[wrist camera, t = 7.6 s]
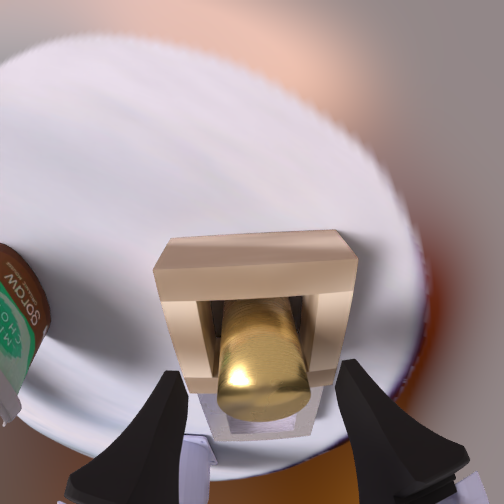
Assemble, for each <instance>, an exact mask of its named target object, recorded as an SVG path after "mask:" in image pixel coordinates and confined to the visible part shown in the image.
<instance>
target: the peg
mask: <svg viewBox="0 0 504 504" xmlns="http://www.w3.org/2000/svg"><path fill="white" fill-rule="evenodd" d="M310 397H311V390H310V386H309V381H308V377H307V373H306V368H305V364H304V360H303V355H302V351H301V347H300V343H299V339H298V334H297V330H296V326H295V322H294V318H293V314H292V310H291V306H290V302H289V298H288V296H287V297H272V298H255V299H235V300H224V308H223V320H222V333H221V346H220V359H219V373H218V388H217V403H218V406H219V407H220V409H221V410H222V411H223V412H225V413H226V414H227V415H229V416H231V417H233V418H236V419H239V420H243V421H249V422H269V421H276V420H280V419H283V418H287V417H289V416H291V415H293V414H295V413H297V412H299V411H300V410H301V409H303V408H304V407H305V406H306V405H307V403H308V402H309V400H310Z"/></svg>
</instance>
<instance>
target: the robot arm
mask: <svg viewBox="0 0 504 504" xmlns="http://www.w3.org/2000/svg"><path fill="white" fill-rule="evenodd" d="M335 391H336V396H337V401H338V406H339V409H340V412H341V415H342V418H343V421H344V424H345V427H346V430H347V433H348V437H349V440H350V443H351V446H352V450H353V455H354V460H355V466H356V472H357V479H358V489H359V502H360V504H489V501H488V498H487V495H486V492H485V489H484V487H483V484H482V481H481V479H480V477H479V474H478V471H475V472H474V473H472V474H471V475H469V476H467V477H466V478H464V479H463V480H461V481H460V482H458V483H456V484H454V481H453V480H455V479H456V476H455V474H454V473H456V472H457V471H459V470H460V469H461V468H463V467H464V466H465V465H466V464H468V463H469V461H470V458H469V456H468V454H467V451H466V449H465V448H464V446H462V445H460V444H458V443H455V442H453V441H450V440H448V439H446V438H444V437H442V436H440V435H438V434H436V433H434V432H433V431H431V430H430V429H428V428H426V427H425V426H423V425H421V424H420V423H419V422H417V421H416V420H415V419H413V418H412V417H411V416H409V415H408V414H407V413H405V412H404V411H403V410H402V409H401V408H400V407H399V406H398V405H397V404H396V403H395V402H393V401H392V400H391V399H390V398H389V397H388V396H387V395H386V394H385V393H384V391H383V390H382V389H381V388H380V387H379V386H378V385H377V384H376V383H375V382H374V381H373V379H372V378H371V377H370V376H369V375H368V374H367V372H366V371H365V370H364V369H363V368H362V366H361V365H360V364H359V363H358V361H357V360H356V359H350V360H344V361H342V363H341V367H340V371H339V374H338V378H337V381H336V385H335ZM187 414H188V394H187V391H186V389H185V386H184V383H183V381H182V378H181V375H180V372H179V371H168V370H166V371H165V372H164V374H163V375H162V377H161V379H160V380H159V382H158V384H157V385H156V387H155V389H154V390H153V392H152V394H151V395H150V397H149V398H148V400H147V401H146V403H145V404H144V406H143V407H142V409H141V410H140V411H139V413H138V414H137V415H136V417H135V418H134V419H133V421H132V422H131V423H130V424H129V426H128V427H127V428H126V429H125V430H124V431H123V432H122V434H121V435H120V436H119V437H118V438H117V439H116V440H115V441H114V442H113V443H112V444H111V445H110V446H109V447H108V448H106V449H105V450H104V451H103V452H102V453H101V454H99V455H98V456H97V457H95V458H94V459H93V460H92V461H90V462H89V463H88V464H86V465H85V466H83V467H81V468H80V469H78V470H77V471H75V472H73V473H72V474H70V477H69V479H68V482H67V486H66V490H65V494H64V496H65V498H67V499H69V500H70V501H72V502H74V503H76V504H207V502H208V499H209V481H210V465H217V464H218V462H217V459H216V457H215V455H214V453H213V451H212V449H211V447H210V444H209V442H208V440H207V438H206V437H204V436H192V435H184V432H185V427H186V421H187ZM57 504H65V503H63V502H61V501H58V502H57Z"/></svg>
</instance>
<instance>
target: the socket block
mask: <svg viewBox="0 0 504 504" xmlns="http://www.w3.org/2000/svg"><path fill="white" fill-rule="evenodd" d="M323 388H324V386H319V387H312V388H310V390H311V397H310V400H309V402H308V403H307V405H306V406H305V407H304V408H303V409H301V410H300V411H299V412H297V413H295V414H293V415H291V416H289V417H287V418H283V419H280V420H276V421H269V422H249V421H243V420H239V419H236V418H233V417H231V416H229V415H227V414H226V413H225V412H223V411H222V410H221V409H220V407H219V406H218V403H217V394H201V393H197V394H198V397H199V400H200V403H201V406H202V409H203V411H204V414H205V417H206V420H207V422H208V425H209V428H210V430H211V433H212V435H213V438H214V440H215V441H255V440H272V439H283V438H293V437H301V436H309V435H310V434H311V431H312V428H313V425H314V421H315V418H316V414H317V411H318V407H319V403H320V400H321V396H322V392H323Z"/></svg>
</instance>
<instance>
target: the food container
mask: <svg viewBox="0 0 504 504" xmlns="http://www.w3.org/2000/svg"><path fill="white" fill-rule="evenodd" d="M50 322H51V315H50V306H49V304H48V301H47V298H46V294H45V292H44V290H43V288H42V286H41V284H40V282H39V280H38V278H37V277H36V275H35V274H34V272H33V270H32V269H31V268H30V266H29V265H28V264H27V263H26V261H25V260H24V259H23V258H22V257H21V256H20V255H19V254H18V253H17V252H16V251H14V250H13V249H12V248H10V247H9V246H7V245H5V244H2V243H0V416H1V417H2V419H3V420H4V422H3V426H5V425H6V424H7V422H11V421H12V420H13V419H14V418H15V417H16V415H17V414H18V413H19V412H20V411H21V409H22V408H21V403H20V400H19V398H18V396H17V395H18V393H19V390H20V388H21V386H22V383H23V381H24V379H25V376H26V374H27V372H28V370H29V367H30V365H31V363H32V361H33V359H34V357H35V355H36V353H37V351H38V349H39V347H40V345H41V343H42V341H43V339H44V337H45V335H46V333H47V331H48V329H49V326H50Z"/></svg>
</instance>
